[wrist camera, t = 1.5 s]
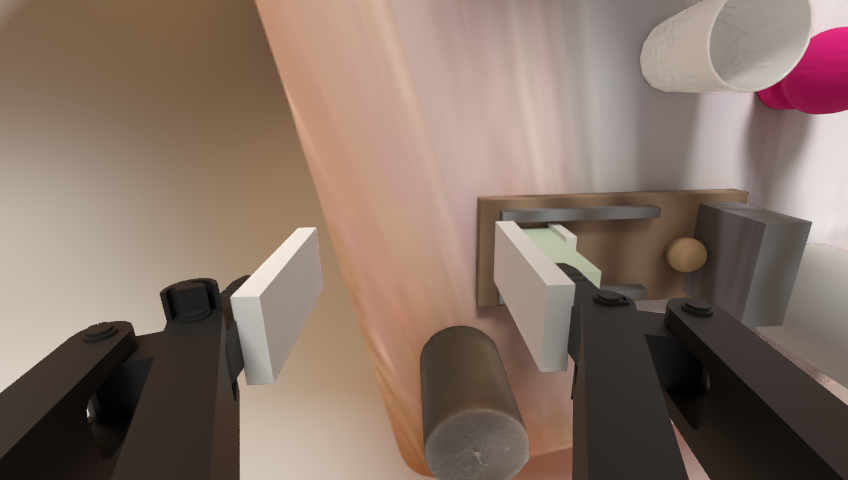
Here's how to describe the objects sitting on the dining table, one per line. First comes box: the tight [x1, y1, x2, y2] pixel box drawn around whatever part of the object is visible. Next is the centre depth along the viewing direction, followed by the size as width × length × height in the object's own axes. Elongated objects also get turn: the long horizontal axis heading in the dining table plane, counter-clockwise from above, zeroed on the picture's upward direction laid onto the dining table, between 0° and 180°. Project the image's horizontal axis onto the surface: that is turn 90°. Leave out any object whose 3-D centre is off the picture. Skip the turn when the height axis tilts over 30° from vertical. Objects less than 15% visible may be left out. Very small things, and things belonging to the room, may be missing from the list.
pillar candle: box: [420, 326, 530, 480], centre depth 41 cm, size 10×10×15 cm
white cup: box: [640, 0, 814, 93], centre depth 33 cm, size 8×8×10 cm
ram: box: [521, 223, 601, 288], centre depth 36 cm, size 5×7×12 cm
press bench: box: [476, 189, 812, 327], centre depth 39 cm, size 28×12×10 cm, turn 92°
